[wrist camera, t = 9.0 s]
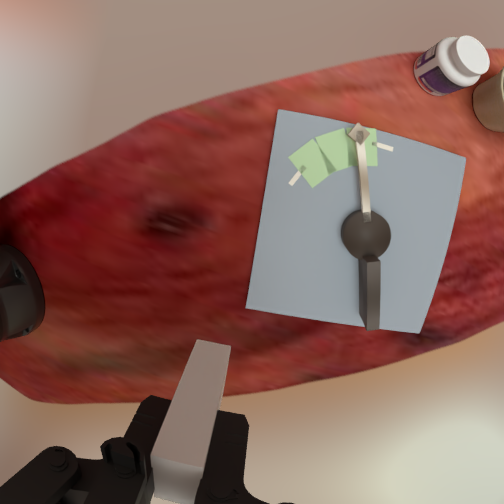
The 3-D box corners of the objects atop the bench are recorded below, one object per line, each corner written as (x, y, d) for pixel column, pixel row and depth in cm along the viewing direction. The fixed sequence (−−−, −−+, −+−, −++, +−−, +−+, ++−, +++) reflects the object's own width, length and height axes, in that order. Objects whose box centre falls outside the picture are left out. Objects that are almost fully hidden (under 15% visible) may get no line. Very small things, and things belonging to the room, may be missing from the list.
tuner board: (247, 302, 38) (245, 308, 37) (278, 110, 32) (278, 108, 30) (415, 327, 37) (419, 334, 36) (460, 157, 31) (467, 157, 29)
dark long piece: (329, 126, 30) (336, 121, 27) (376, 123, 30) (388, 119, 26) (344, 315, 36) (350, 333, 32) (385, 310, 35) (395, 326, 31)
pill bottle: (456, 95, 29) (501, 81, 20) (419, 98, 30) (460, 81, 21) (444, 54, 28) (484, 30, 18) (406, 55, 29) (442, 27, 19)
